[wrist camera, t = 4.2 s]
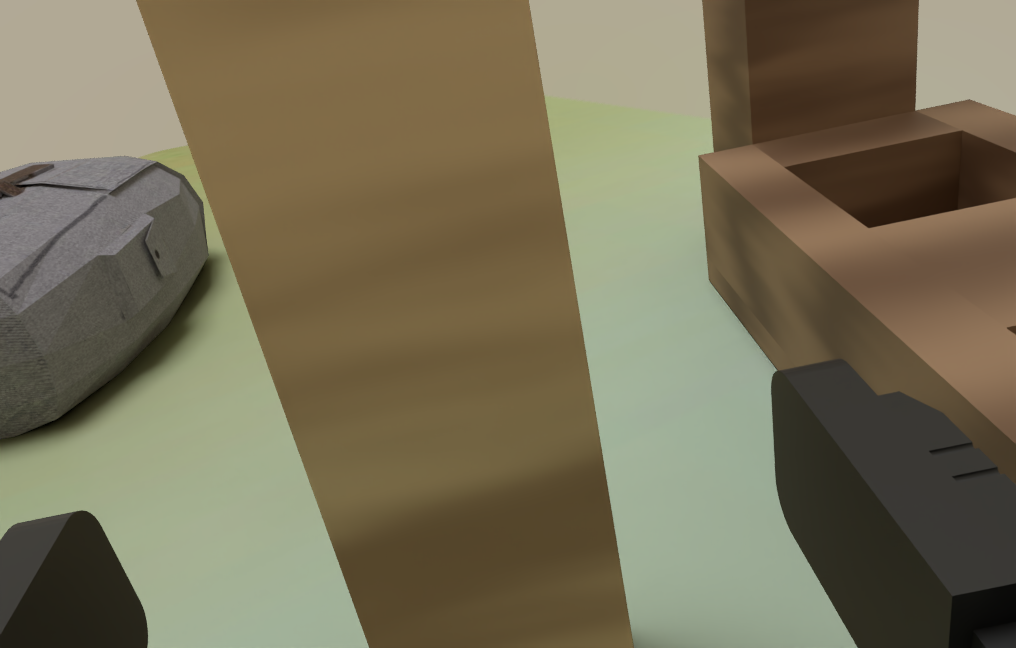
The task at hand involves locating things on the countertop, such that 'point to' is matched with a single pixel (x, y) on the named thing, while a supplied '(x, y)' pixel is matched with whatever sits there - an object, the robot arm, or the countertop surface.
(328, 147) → the rail bar
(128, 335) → the small grey backpack
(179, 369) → the countertop surface
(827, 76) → the wooden peg socket stand
